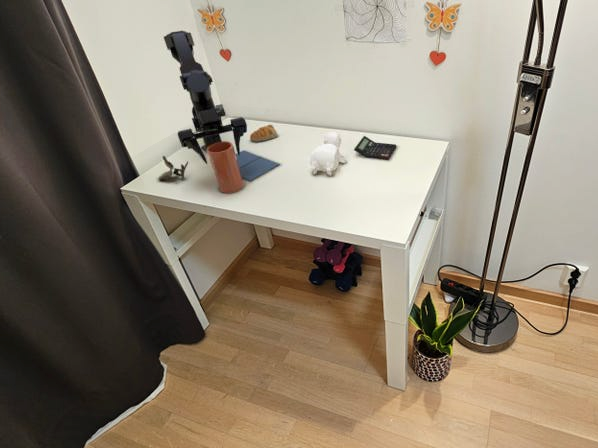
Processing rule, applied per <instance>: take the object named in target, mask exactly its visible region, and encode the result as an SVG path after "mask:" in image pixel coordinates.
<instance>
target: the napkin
mask: <svg viewBox="0 0 598 448" xmlns="http://www.w3.org/2000/svg"><path fill="white" fill-rule="evenodd" d="M235 154H236V158H237V161H238V165H239V168H240V172H241V175H242V179H243V180H245V181H248V182H252V181H254V180H256V179H258V178H259V177H261V176H263V175H265V174H266V173H268V172H270V171H272V170H274V169H275V168H277V167H279V166H280V163H279V162H276V161H273V160H270V159H268V158H265V157H262V156H261V155H260V156H259V155H257V154H254V153H252V152H249V151H246V150H242V151H240V155H239V156H238V153H237V152H236V153H235Z"/></svg>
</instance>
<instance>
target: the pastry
mask: <svg viewBox="0 0 598 448" xmlns="http://www.w3.org/2000/svg"><path fill="white" fill-rule="evenodd" d="M277 136H278V132H277V130H276V129H275V126H274V125H273V124H268V125H264V126H261V127H259V128H257V130H254V131H253V132H252V133H251V134H250V136H249V139H250V141H251V142H252V141H253V142H257V143H258V142H261V141H262V142H264V141H269V140H271V139H275V138H276V137H277Z"/></svg>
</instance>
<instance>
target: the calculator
mask: <svg viewBox="0 0 598 448" xmlns="http://www.w3.org/2000/svg"><path fill="white" fill-rule="evenodd" d="M396 149H397V144H395V143H384V142H375V141H373V140H372V139H370V138H369V137H367V136H366V135H363V137H362V138H361V139H360V140H359V142H358V143H357V145H356V146H355V147H354V149H353V151H354V152H356V153H358V154H360V155H361V156H363V157H365V158H367V159H376V160H385V161H389V160H390V158H391V157H392V155H393V153H394V152H395V150H396Z"/></svg>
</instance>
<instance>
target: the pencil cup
mask: <svg viewBox="0 0 598 448" xmlns="http://www.w3.org/2000/svg"><path fill="white" fill-rule="evenodd" d="M206 153H207V155H208V159H209V161H210V165H211V168H212V170H213V173H214V177H215V180H216V183H217V185H218V188H219V191H220V192H222V193H223V194H232V193H233V194H234V193H236V192H238V191H240V190H241V189H243V188H244V185H245V184H244V179H243V178H242V175H241V172H240V168H239V165H238V161H237V158H236V154H237V153H236V151H235V148H234V144H233V143H232V142H230V141H222V142H217V143H214V144H212V145H210V146H209V147H207V150H206Z"/></svg>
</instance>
